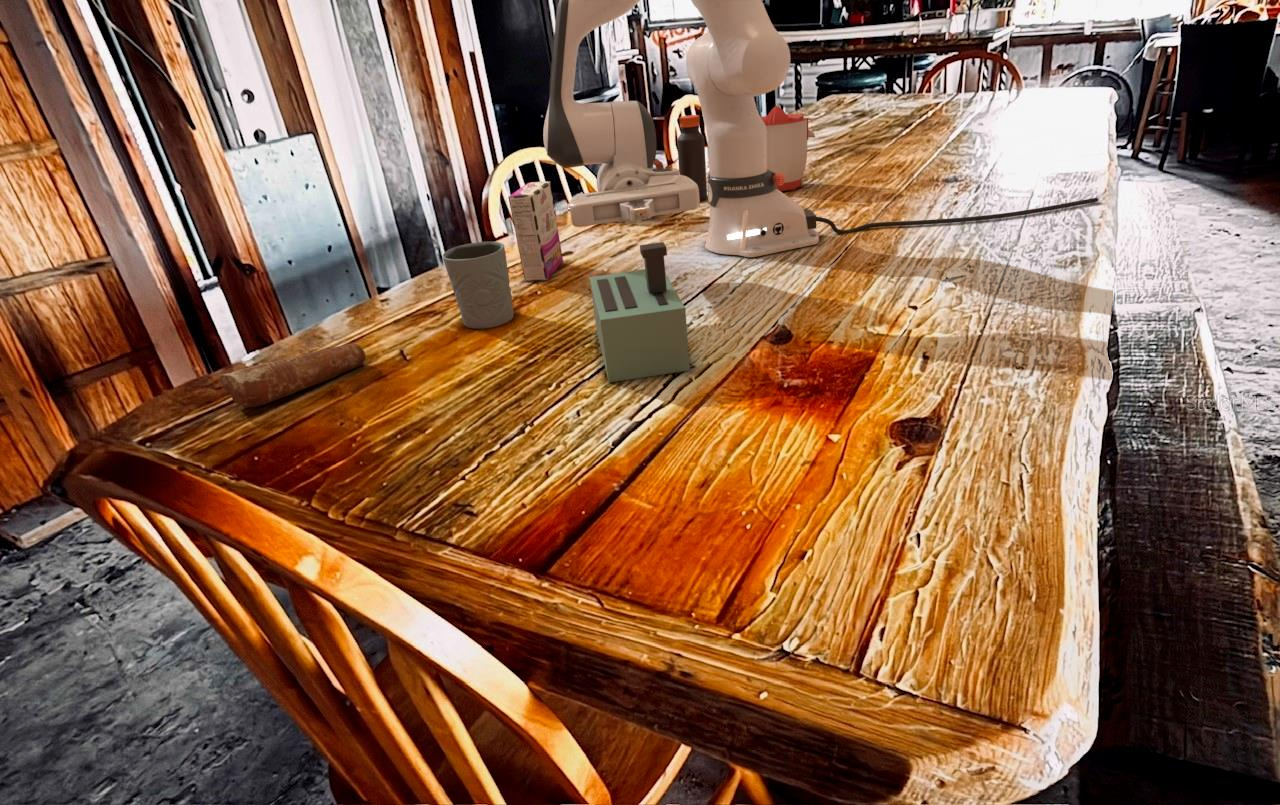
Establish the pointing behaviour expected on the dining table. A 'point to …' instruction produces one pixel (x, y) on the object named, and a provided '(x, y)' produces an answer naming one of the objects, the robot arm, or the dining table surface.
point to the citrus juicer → (787, 146)
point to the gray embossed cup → (480, 283)
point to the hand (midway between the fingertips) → (640, 214)
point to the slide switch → (654, 266)
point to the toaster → (639, 327)
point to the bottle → (692, 153)
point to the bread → (290, 374)
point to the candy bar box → (536, 230)
